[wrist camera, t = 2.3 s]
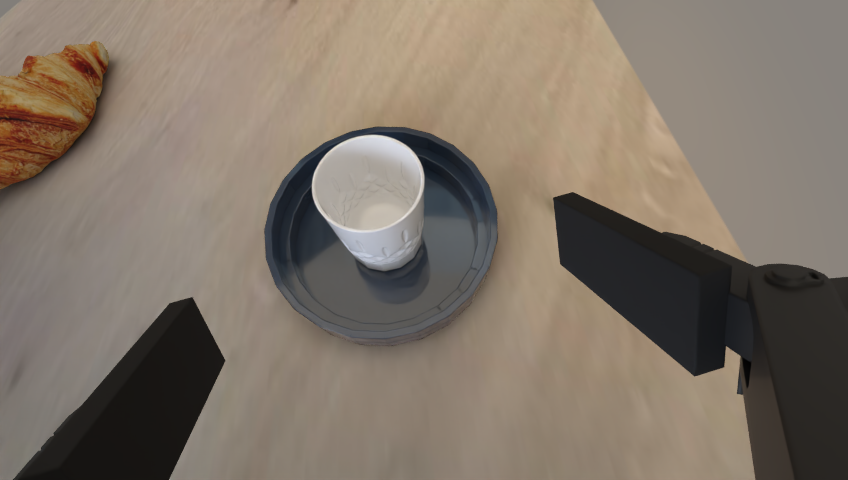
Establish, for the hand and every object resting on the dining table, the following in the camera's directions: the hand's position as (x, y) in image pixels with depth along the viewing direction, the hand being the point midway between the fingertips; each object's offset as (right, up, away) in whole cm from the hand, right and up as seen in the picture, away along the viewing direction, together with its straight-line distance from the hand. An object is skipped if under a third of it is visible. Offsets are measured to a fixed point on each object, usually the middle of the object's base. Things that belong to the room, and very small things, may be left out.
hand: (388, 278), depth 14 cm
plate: (-2, +1, +23) cm, 23 cm away
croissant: (-39, +14, +30) cm, 51 cm away
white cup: (-2, +2, +23) cm, 23 cm away
